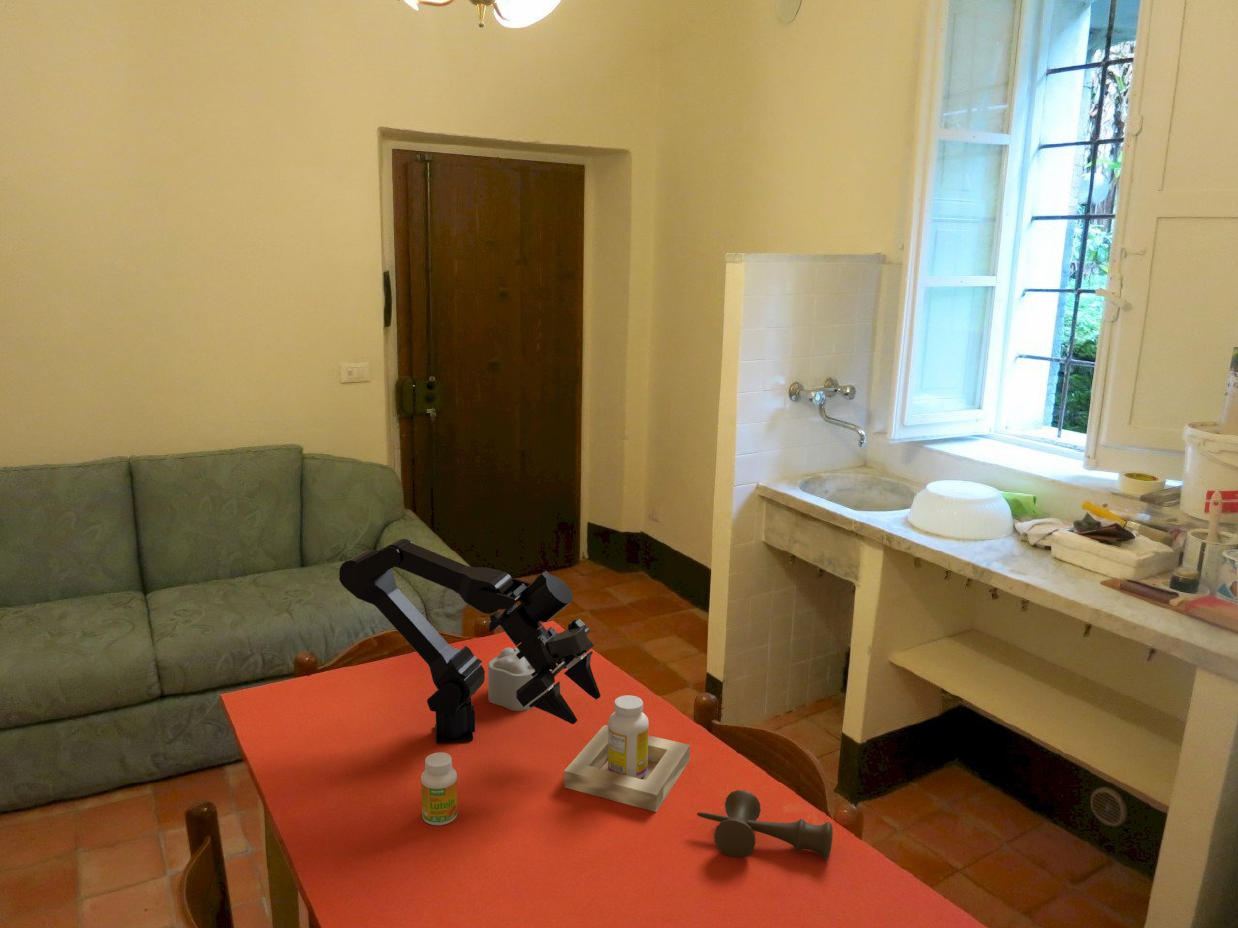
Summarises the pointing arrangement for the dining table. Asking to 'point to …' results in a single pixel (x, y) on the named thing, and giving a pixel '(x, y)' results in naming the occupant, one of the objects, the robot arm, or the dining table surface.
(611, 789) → the birch well block
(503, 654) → the lumpy-topped squat cylinder
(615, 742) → the supplement bottle
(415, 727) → the dining table surface
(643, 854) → the dining table surface
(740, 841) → the kendama
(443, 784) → the supplement bottle
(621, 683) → the dining table surface
